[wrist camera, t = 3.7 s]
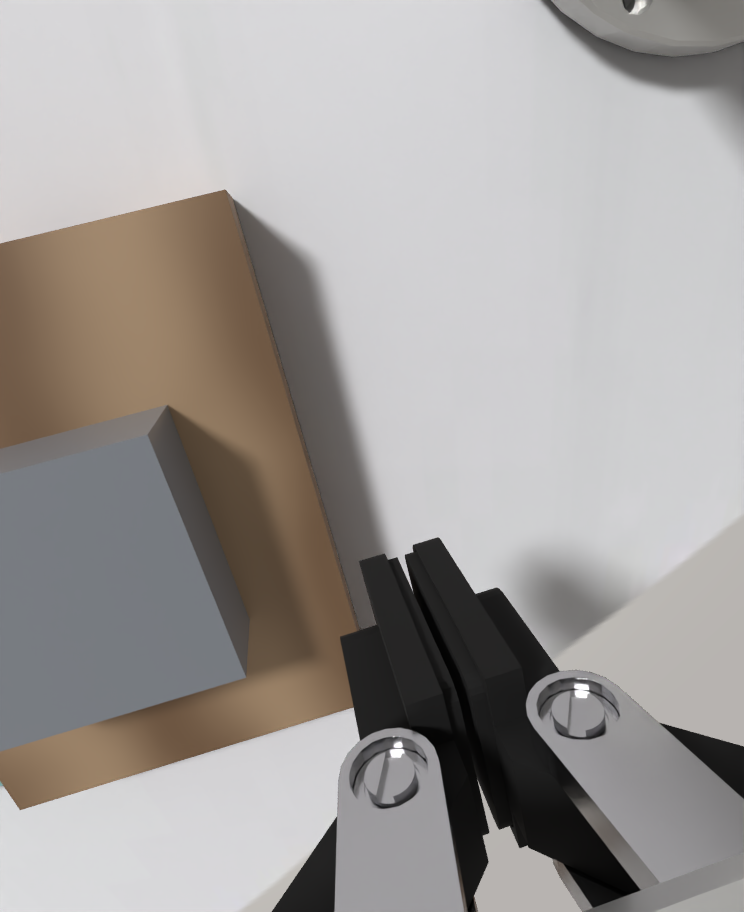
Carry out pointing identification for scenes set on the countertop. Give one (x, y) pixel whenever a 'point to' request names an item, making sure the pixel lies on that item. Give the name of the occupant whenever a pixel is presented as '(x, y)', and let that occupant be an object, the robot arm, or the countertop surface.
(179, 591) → the slate tile
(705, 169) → the countertop surface
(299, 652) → the walnut board
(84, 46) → the countertop surface
